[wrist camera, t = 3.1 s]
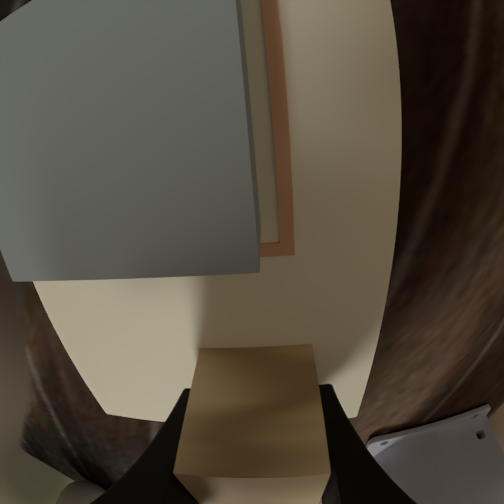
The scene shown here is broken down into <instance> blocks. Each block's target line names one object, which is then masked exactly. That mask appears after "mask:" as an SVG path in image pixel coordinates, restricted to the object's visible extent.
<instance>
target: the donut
mask: <svg viewBox="0 0 504 504" xmlns="http://www.w3.org/2000/svg"><path fill="white" fill-rule="evenodd" d="M104 492H105V490H104V489H103V488H102V487H101V486H100V485H98V484H95V483H93V482H91V481H88V480H78V481H75V482H73V483H71V484H68V485H67V486H66V488H65V489H64V490H63V491H62V492H61V493H60V495H59V497H58V499H57V501H56V504H90V503H91V502H93V501H94V500H95V499H97V498H98V497H99V496H100V495H102V494H103V493H104Z"/></svg>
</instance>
